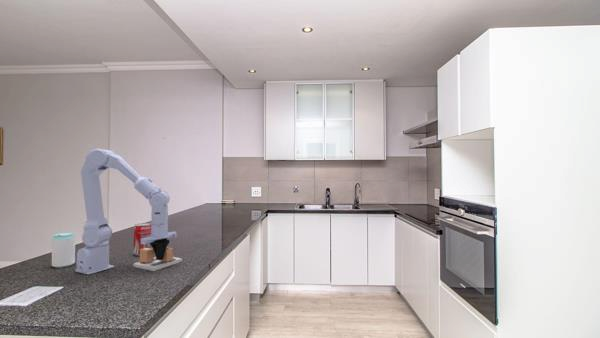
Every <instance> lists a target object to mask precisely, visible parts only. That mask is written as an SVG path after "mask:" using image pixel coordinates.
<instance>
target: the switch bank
mask: <svg viewBox="0 0 600 338" xmlns="http://www.w3.org/2000/svg"><path fill="white" fill-rule="evenodd" d="M182 262H183V259H182V258H180V257H175V256H173V260H171V261H168V262H166V261H160V260H156V256H154V261H151V262H148V263H145V262H140V261H137V262H135V263H133V268H137V269H142V270H147V271H151V272H155V271H159V270H161V269H163V268H164V269H165V268H167V267H169V266H173V265H176V264H179V263H182Z"/></svg>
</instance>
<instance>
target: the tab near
mask: <svg viewBox="0 0 600 338" xmlns="http://www.w3.org/2000/svg"><path fill="white" fill-rule="evenodd" d="M173 257H174V248H173V247H169V246H167V247H166V250H165V253H164V256H163V259H162V260H160V261H166V262H168V261H171V260H173Z"/></svg>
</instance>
